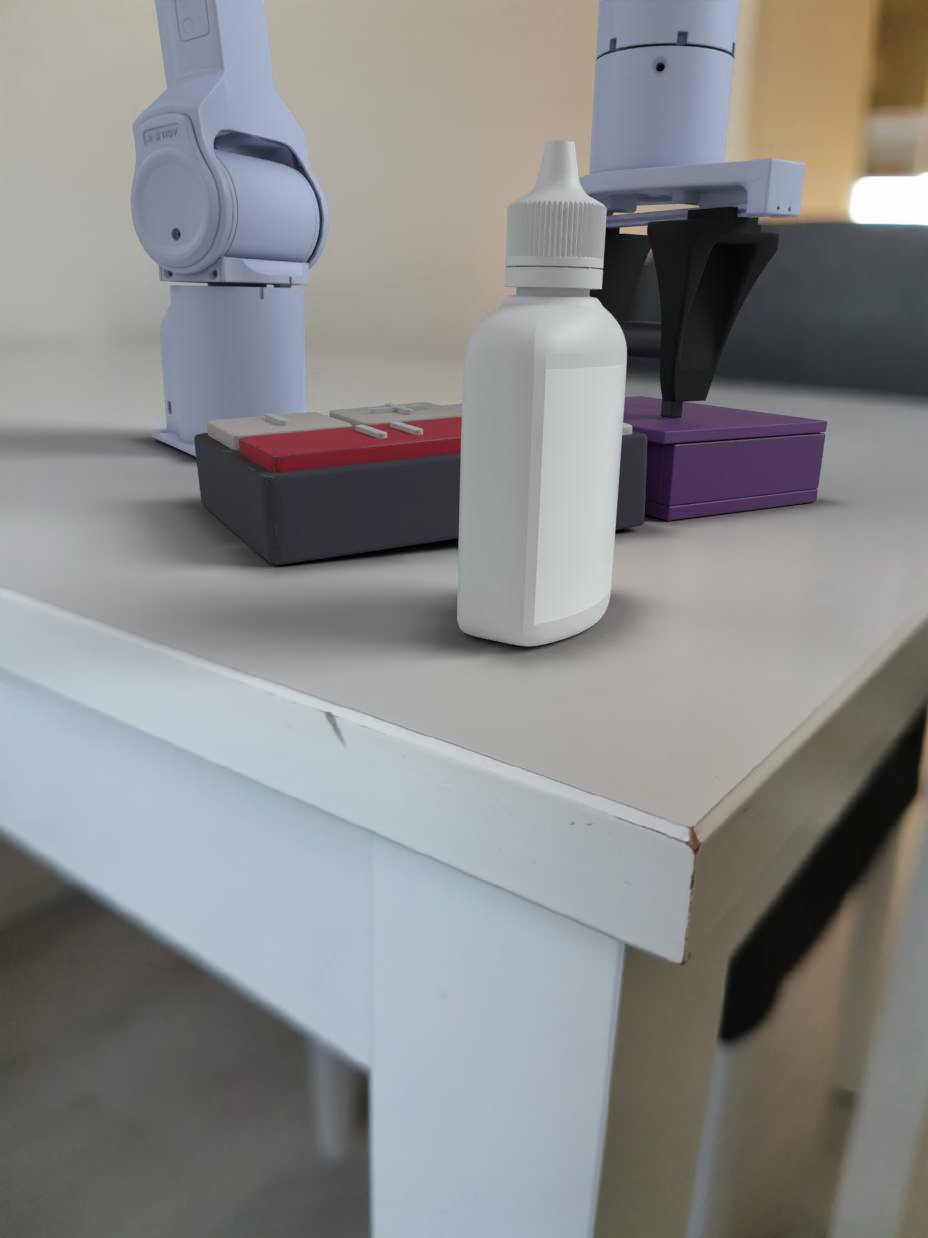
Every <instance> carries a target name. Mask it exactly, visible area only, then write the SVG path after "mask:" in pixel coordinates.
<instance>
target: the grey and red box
mask: <svg viewBox="0 0 928 1238" xmlns="http://www.w3.org/2000/svg"><path fill="white" fill-rule="evenodd" d="M461 429H462V403H452V404H442V405H441V404H436V403H432V402H427V401H426V402H424V401H423V402H411V403H398V404H395V403H385V404H384V405H376V406H366V407H353V408H341V409H339V408H338V409H332V410H329V412H328V415H327V414H324V413H320V412H317V411H307V412H304V413H292V414H280V415H276V414H273V413H270V414H265V416H256V417H245V418H233V419H221V420H211V421H207V431H208V433H202V434H197V435H196V436H195V437H194V443H195V452H196V457H195V460H196V461H195V462H196V468H197V477H198V486H199V494H200V501H201V505H202V506H204V507H205V508H206V509H207V510H208V511H209V512H210V513H211V514H213V515H214V516H215V517H216V518H217V519H218V520H220V521H221V523H223V524H224V525H225V526H226V527H227V528H229V530H230V531H232V532H233V533H235V535H237V537H239V538H240V539H241V540H242V541H243V542H245V543H246V544H247V545H248V546H249V547H251V548H252V550H254V551H255V552H256V553H257V554H259V555H260V557H262V558H263V559H264V560H265V561H267V562H268V563H269V564H271V565H281V566H282V565H289V564H296V563H301V562H302V563H303V562H308V561H309V562H310V561H315V560H322V559H329V558H335V557H342V556H343V557H344V556H350V555H355V554H362V553H369V552H375V551H382V550H388V549H395V548H402V547H409V546H416V545H422V544H429V543H436V542H443V541H449V540H450V541H451V540H455V539H459V505H460V466H461ZM646 466H647V436H646V435H645V434H643V433H639V432H634V431H632V425H630V424H626V423H623V429H622V443H621V458H620V472H619V486H618V500H617V513H616V527H615V531H619V530H624V529H631V528H636V527H640V526H643V524H644V523H645V516H646V514H645V493H646Z"/></svg>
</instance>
